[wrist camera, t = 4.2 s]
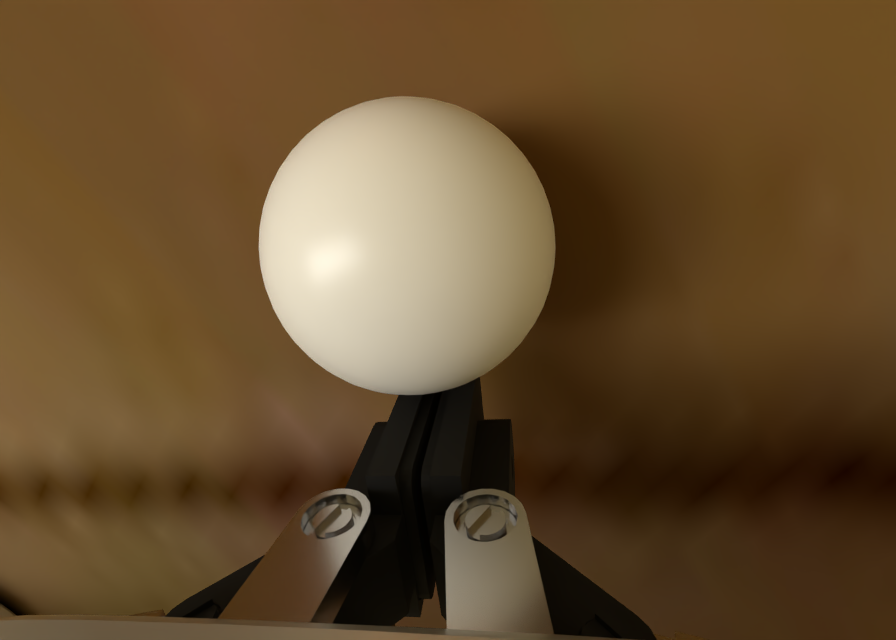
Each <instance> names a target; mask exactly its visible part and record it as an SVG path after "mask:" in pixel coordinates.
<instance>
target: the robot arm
mask: <svg viewBox="0 0 896 640" xmlns="http://www.w3.org/2000/svg"><path fill="white" fill-rule="evenodd" d="M435 582H436V585H437V591H438V597H439V602H440V608H441V615H442V616H443V617H444V618H445V619H446V621H447V629H438V628H418V627H396V626H395V623H397V622H398V621H399V620H401V619H402V618H403V617H405V616H406V617H420V616H421V611H422V605H423V600H424V599H432V597H433V593H434V587H435ZM0 640H709V639H705V638H701V637H697V636H693V635H689V634H685V633H681V632H677V631H675V637H674V639H673V638H669V637H665V636H661V635H657V634H653V632H652V631H651V629H650V628H649V627H648V626H647V625H646V624H645V623H644V622H643V621H642V620H641V619H640V618H639V617H638V616H637V615H636V614H634V613H633V612H632V611H630V610H629V609H628V608H626V607H625V606H624V605H622V604H621V603H620V602H618V601H617V600H616V599H614V598H613V597H612V596H610V595H609V594H608V593H606V592H605V591H604V590H603V589H601V588H600V587H599V586H597V585H596V584H595V583H593V582H592V581H591V580H589V579H588V578H587V577H585V576H584V575H583V574H581V573H580V572H579V571H577V570H576V569H575V568H573V567H572V566H571V565H570V564H568V563H567V562H566V561H564V560H563V559H562V558H560V557H559V556H558V555H556V554H555V553H554V552H552V551H551V550H550V549H548V548H547V547H546V546H544V545H543V544H542V543H540V542H539V541H538V540H537V539H535V538H534V537H533V536H531V532H530V528H529V524H528V519H527V515H526V512H525V509H524V507H523V505H522V503H521V502H520V501H519V500H518V499H517V498H516V497H515V472H514V450H513V436H512V424H511V419H496V420H484V416H483V406H482V395H481V384H480V377H478V378H476V379H474V380H473V381H471V382H469V383H467V384H464V385H461V386H459V387H456V388H452V389H449V390H445V391H441V392H437V393H431V394H423V395H399V396H398V398H397V401H396V403H395V405H394V408H393V410H392V412H391V415H390V417H389V420H388V422H377V423H375V425H374V426H373V429H372V431H371V433H370V435H369V437H368V439H367V442H366V444H365V446H364V448H363V450H362V453H361V455H360V457H359V459H358V461H357V464H356V466H355V468H354V470H353V472H352V474H351V477H350V479H349V481H348V483H347V485H346V488H345V489H335V490H331V491H326V492H324V493H322V494H319V495H317V496H315V497H313V498H312V499H310V500H309V501H307V502H306V503H305V504H304V505H303V506H302V507H301V508H300V509H299V510H298V511H297V513H296V514H295V515H294V517H293V518H292V519H291V521H290V522H289V523H288V525H287V526H286V527H285V529H284V530H283V531H282V533H281V534H280V536H279V537H278V538H277V540H276V541H275V542H274V544H273V545H272V546H271V548H270V549H269V550H268V552H267V553H266V554H265V555H264V556H262V557H260V558H258V559H257V560H255V561H253V562H251V563H250V564H248V565H246V566H244V567H242V568H241V569H239V570H237V571H235V572H234V573H232V574H230V575H228V576H227V577H225V578H223V579H221V580H220V581H218V582H216V583H214V584H212V585H211V586H209V587H207V588H205V589H204V590H202V591H200V592H198V593H197V594H195V595H193V596H191V597H190V598H188V599H186V600H185V601H183V602H182V603H180V604H179V605H177V606H176V607H175V608H173V609H172V610H171V611H170V612H169V613H168V614H167V615H165V613H164V611H163V610H157V611H151V612H146V613H140V614H135V615H129V616H120V615H22V616H16V615H15V614H14V613H13V612H12V611H10V610H9V609H8V608H6V607H5V606H3V605H2V604H0Z"/></svg>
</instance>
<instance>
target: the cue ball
mask: <svg viewBox="0 0 896 640" xmlns="http://www.w3.org/2000/svg"><path fill="white" fill-rule="evenodd" d="M555 248H556V245H555V230H554V223H553V218H552V213H551V208H550V205H549V202H548V199H547V197H546V194H545V191H544V188H543V186H542V184H541V182H540V180H539V178H538V176H537V174H536V172H535V170H534V169H533V167H532V166H531V164H530V163H529V162H528V160H527V159H526V157H525V156H524V154H523V153H522V152H521V151H520V150H519V149H518V147H517V146H516V145H515V144H514V143H513V142H512V141H511V140H510V139H509V138H508V137H507V136H506V135H505V134H504V133H502V132H501V131H500V130H499V129H498V128H496V127H495V126H494V125H493V124H491V123H489V122H488V121H486V120H485V119H483V118H481V117H480V116H478V115H476V114H475V113H473V112H470V111H468V110H466V109H464V108H461V107H459V106H457V105H454V104H451V103H447V102H443V101H439V100H436V99H431V98H422V97H411V96H398V97H387V98H382V99H377V100H372V101H367V102H363V103H361V104H358V105H355V106H353V107H350V108H348V109H345V110H343V111H341V112H339V113H337V114H335V115H334V116H332V117H330V118H329V119H327V120H325V121H323V122H322V123H321V124H320V125H318V126H317V127H316V128H314V129H313V130H312V131H311V132H309V133H308V134H307V135H306V136H305V137H304V138H303V139H302V140H301V141H300V142H299V143H298V144H297V145H296V146H295V148H294V149H293V150H292V151H291V152H290V154H289V155H288V157H287V158H286V159H285V161H284V162H283V164H282V165H281V167H280V168H279V170H278V172H277V174H276V176H275V178H274V180H273V182H272V184H271V186H270V189H269V192H268V195H267V198H266V201H265V204H264V207H263V212H262V217H261V223H260V232H259V256H260V266H261V272H262V276H263V280H264V284H265V288H266V291H267V293H268V296H269V299H270V301H271V304H272V306H273V309H274V311H275V313H276V314H277V316H278V318H279V320H280V321H281V323H282V325H283V327H284V328H285V330H286V331H287V332H288V334H289V335H290V336H291V338H292V339H293V340H294V342H295V343H296V344H297V345H298V346H299V347H300V348H301V349H302V350H303V351H304V352H305V353H306V354H307V355H308V356H309V357H310V358H311V359H312V360H313V361H315V362H316V363H317V364H319V365H320V366H321V367H323V368H324V369H326V370H327V371H328V372H330V373H332V374H333V375H335V376H337V377H339V378H341V379H343V380H345V381H347V382H349V383H351V384H354V385H356V386H359V387H362V388H366V389H369V390H372V391H376V392H381V393H387V394H397V395H423V394H431V393H437V392H441V391H445V390H449V389H452V388H456V387H459V386H461V385H464V384H467V383H469V382H471V381H473V380H474V379H476V378H478V377H480V376H482V375H484V374H486V373H487V372H489V371H490V370H492V369H493V368H494V367H496V366H497V365H498V364H500V363H501V362H502V361H503V360H505V359H506V358H507V357H508V356H509V355H510V354H511V353H512V352H513V351H514V350H515V349H516V348H517V347H518V346H519V345H520V344H521V342H522V341H523V340H524V338H525V337H526V335H527V334H528V332H529V331H530V330H531V328H532V327H533V325H534V324H535V322H536V320H537V318H538V316H539V314H540V312H541V311H542V309H543V307H544V304H545V301H546V298H547V295H548V292H549V289H550V285H551V280H552V275H553V270H554V263H555Z"/></svg>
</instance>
